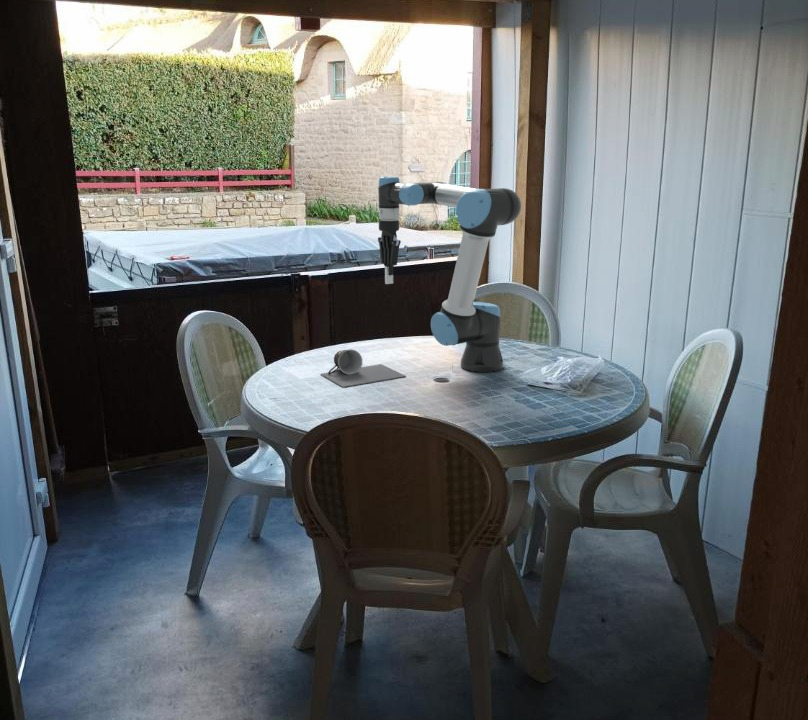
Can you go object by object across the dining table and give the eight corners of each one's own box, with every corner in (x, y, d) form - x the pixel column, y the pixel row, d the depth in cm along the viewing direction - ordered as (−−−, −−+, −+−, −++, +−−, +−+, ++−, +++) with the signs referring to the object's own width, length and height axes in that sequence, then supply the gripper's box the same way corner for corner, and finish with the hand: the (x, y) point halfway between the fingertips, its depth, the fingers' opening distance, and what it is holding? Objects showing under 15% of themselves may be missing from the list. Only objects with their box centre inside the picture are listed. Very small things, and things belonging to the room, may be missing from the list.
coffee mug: (353, 345, 269) (361, 348, 260) (355, 369, 270) (363, 372, 261) (321, 349, 265) (328, 351, 256) (323, 373, 266) (330, 377, 257)
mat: (405, 376, 259) (405, 375, 258) (342, 387, 247) (342, 386, 246) (381, 365, 273) (381, 364, 272) (320, 374, 261) (320, 373, 260)
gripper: (371, 218, 281) (371, 281, 287) (389, 221, 270) (389, 287, 277) (388, 217, 285) (389, 280, 291) (407, 220, 274) (406, 285, 280)
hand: (389, 283), depth 284 cm, fingers closed
